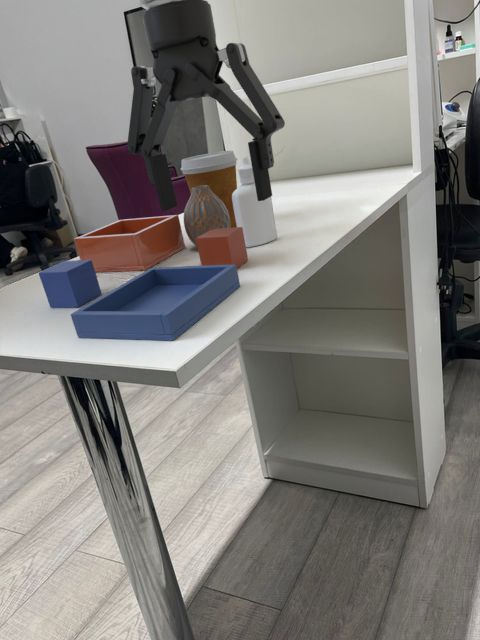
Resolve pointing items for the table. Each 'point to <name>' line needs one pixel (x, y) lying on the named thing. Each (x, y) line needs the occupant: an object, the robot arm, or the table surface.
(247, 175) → the eye dropper bottle
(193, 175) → the disposable coffee cup
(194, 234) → the vase
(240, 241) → the rust block
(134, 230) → the terracotta bin
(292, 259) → the table surface
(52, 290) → the blue block
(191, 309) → the blue tray
